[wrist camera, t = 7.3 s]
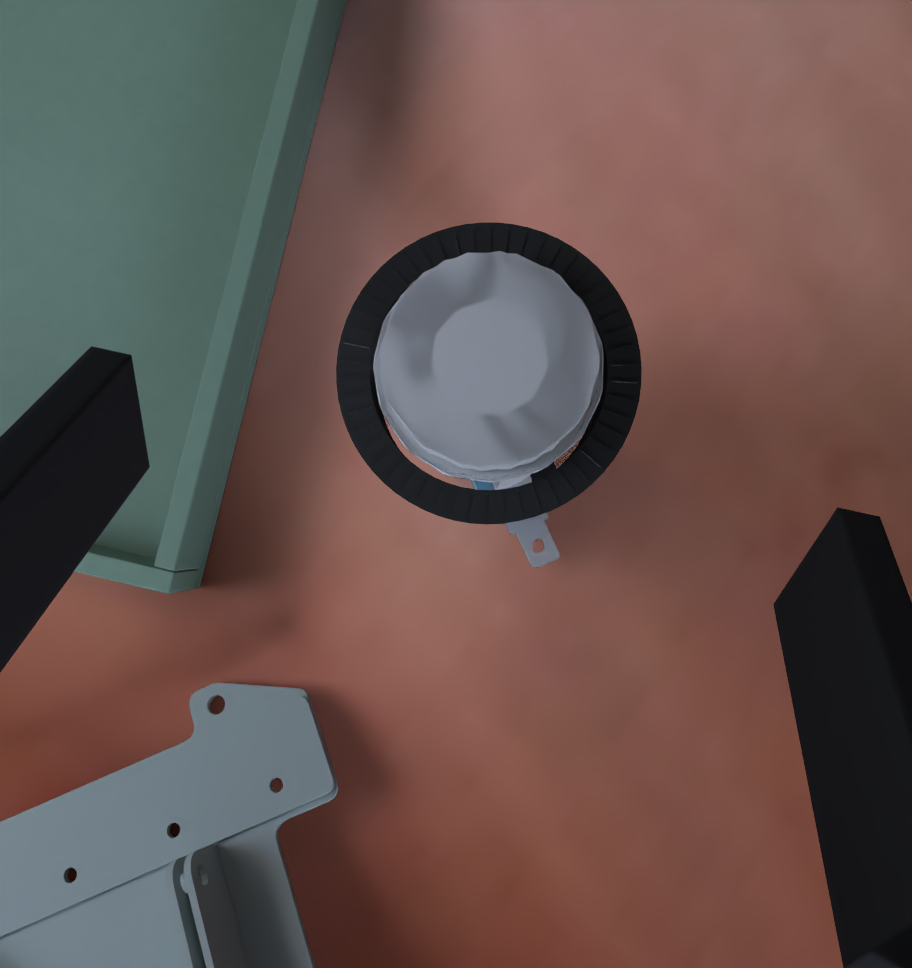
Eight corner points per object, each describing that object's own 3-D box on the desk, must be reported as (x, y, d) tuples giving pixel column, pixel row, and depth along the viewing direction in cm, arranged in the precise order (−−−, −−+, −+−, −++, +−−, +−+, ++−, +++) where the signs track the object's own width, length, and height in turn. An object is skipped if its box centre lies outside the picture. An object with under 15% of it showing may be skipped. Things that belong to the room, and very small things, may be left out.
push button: (624, 524, 22) (746, 516, 12) (455, 600, 22) (440, 654, 12) (528, 317, 23) (570, 146, 13) (362, 391, 23) (274, 278, 13)
